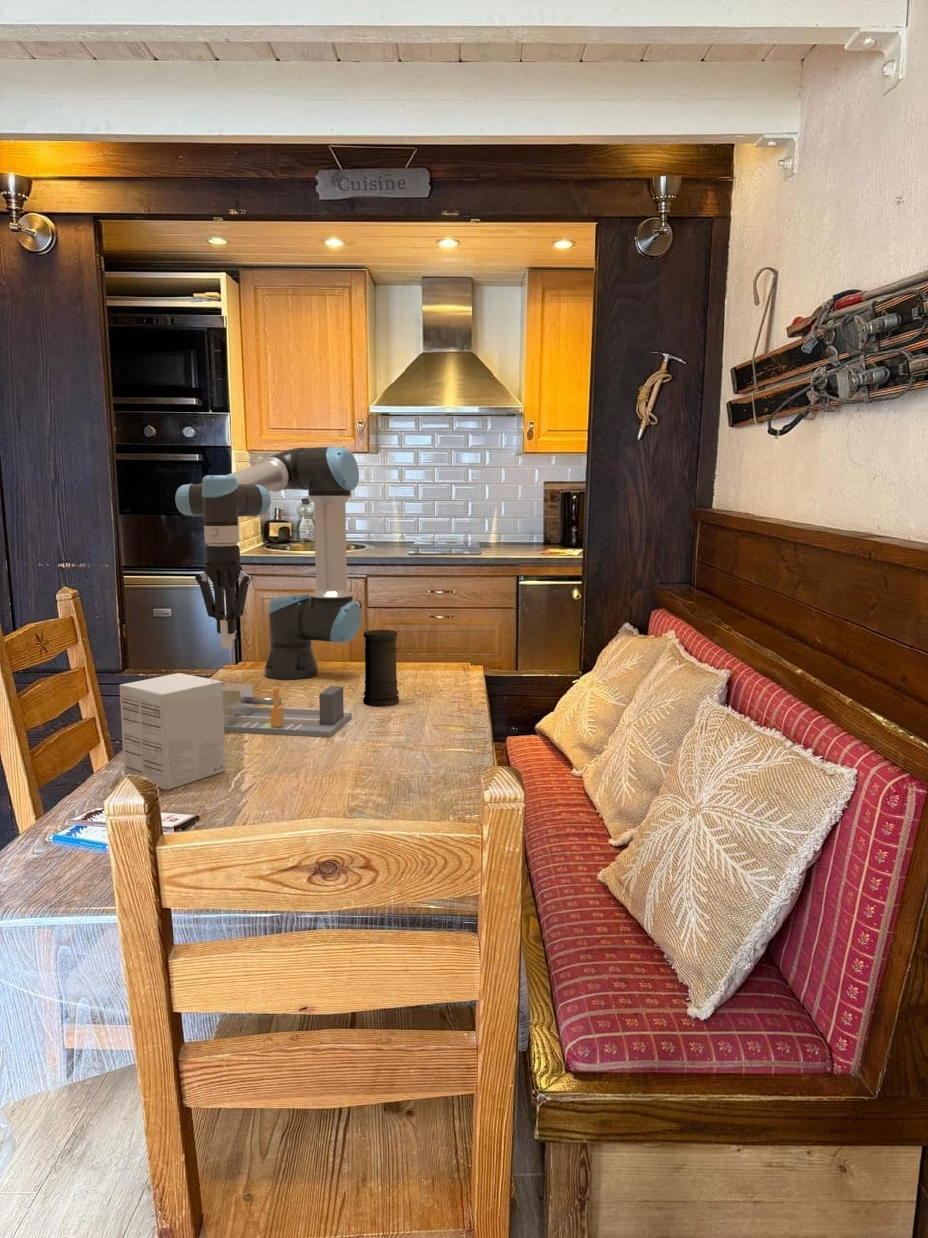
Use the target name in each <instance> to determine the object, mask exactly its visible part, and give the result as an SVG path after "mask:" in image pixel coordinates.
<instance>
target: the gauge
mask: <svg viewBox="0 0 928 1238" xmlns="http://www.w3.org/2000/svg"><path fill="white" fill-rule="evenodd" d="M222 694H223V715H225V716H233V715H237V716H247V715H248V714H250V713H252V712H253V706H254V705H262V706H263V705H265V706H274V697H259V696H258V697H257V696H254V685H253V683H232V682H231V683H230V682H229V683H226V684H223V685H222ZM281 705H282V698H281V697H279V706H281Z"/></svg>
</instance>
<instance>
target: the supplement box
mask: <svg viewBox="0 0 928 1238" xmlns="http://www.w3.org/2000/svg"><path fill="white" fill-rule="evenodd" d="M118 686H119V701H120V703H119V704H120V717H121V719H120V720H121V721H120V722H121V738H122V742H121V743H122V759H123V760H122V761H123V774H124V775H128V774H131V775H139V776H143V777H146V778H148V779H149V780H151V781H153V782H155V783H157V785H158V786H159V788H158V789H161V790H165V791H168V790H171V789H174V788H177V787H178V788H179V787H180V786H184V785H187V784H189V783H193V782H196V781H199V780H202V779H205V778H208V777H211V776H214V775H218V774H221V773H224V772H225V771H226V770H227V769H226V768H227V767H226V764H227V763H226V746H225V732H224V718H223V694H222V686H223V681H221V680H217V679H212V678H207V677H202V676H196V675H192V674H186V673H180V672H177V673H176V672H175V673H173V674H168V675H163V676H157V677H153V678H152V677H151V678H148V679H143V680H138V681H134V682H128V683H122V684H119V685H118Z"/></svg>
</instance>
